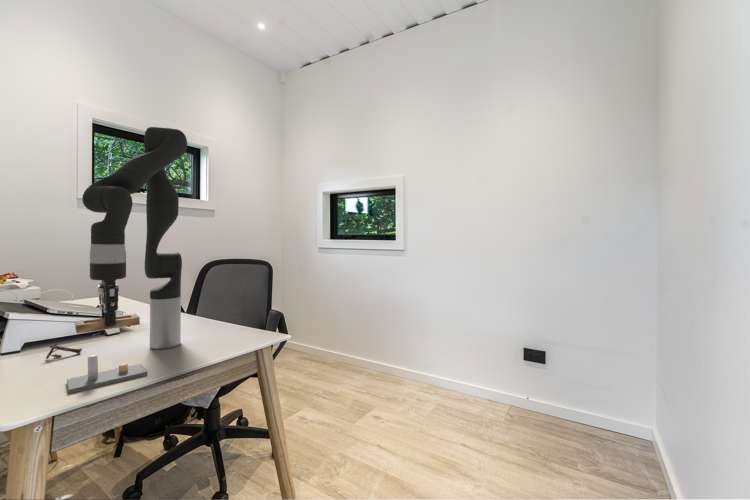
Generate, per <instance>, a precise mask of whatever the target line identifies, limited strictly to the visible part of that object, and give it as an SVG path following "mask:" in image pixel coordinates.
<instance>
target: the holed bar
mask: <svg viewBox="0 0 750 500" xmlns="http://www.w3.org/2000/svg"><path fill="white" fill-rule="evenodd" d="M140 321H141V319H140V316H139V315H138V314H136V313H132V314H123V315H122V314H121V315H116V325H115V326H109V327H106V326H105V318H102V317H98V318H89V319H83V320H76V321H75V323H74V325H75V326H74V327H75V328H74V329H75V332H76V334H81V333H89V332H96V331H103V330H105V331H106V330H110V329H117V328H124V327H130V326H132V327H133V326H139V325H140V324H141V323H140Z"/></svg>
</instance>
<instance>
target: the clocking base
mask: <svg viewBox="0 0 750 500" xmlns="http://www.w3.org/2000/svg"><path fill="white" fill-rule="evenodd" d="M98 359H99V355H98V354H91V355H89V356H87V374H85V375H80V376H77V377H76V376H75V377H71V378H66V384H67V392H68V394H74V393H77V392H82V391H85V390H90V389H93V388H98V387H102V386H107V385H111V384H115V383H116V384H117V383H119V382H124V381H128V380H132V379H136V378H142V377H145V376H148V370H147V369H146V368H145V367H144V365H143V364H142V363H137V364H131V365H129V363H126V362H125V363H122V364H119V365H118V368H117V367H116V368H114V369H108V370H104V371H99V360H98Z"/></svg>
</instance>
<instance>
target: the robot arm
mask: <svg viewBox="0 0 750 500" xmlns="http://www.w3.org/2000/svg"><path fill="white" fill-rule="evenodd" d="M144 132H145V133H144V137H143V143H144V144H143V145H144V153H143V154H140V155H138V156H135V157H133V158H131V159H128V160H127V161H125V162H124V163H123V164H122V165H121V166H120V167H118V168H117V169H116V170H115V171H114V172H113V173H112V174H110V175H107V176H105V177H104V178H102V179H99V180H98V181H95V182H94V183H92V184H91V185H88V187H86V189H85V190H84V191H83V194H82V203H83V205H84V207H85V208H86V209H87V210H89V211H91V212H93V213H101V214H104V213H105V215H104V219H102V220H101V221H96V222H93V223H92V224H91V227H90V249H89V278H90V280H92V281H101V282H100V283H99V284H98V286H97V290H98V300H99V305H100V306H99V307H100V308H101V318H105V326H106V327H109V326H115V325H116V316H117V311H118V310H119V292H120V288H119V287H120V286H119V285H117V284H116V283H117V282H116V281H117V280H122V279H126V278H127V251H126V231H125V230H126V228H127V226H128V222H129V218H130V215H131V212H132V208H133V198H132V195H133V194H136V193H137V192H139V191H140V190H141V189H142V188H143V186H145V184H146V199H145V201H146V204H145V205H146V208H145V211H146V241H145V242H146V243H145V252H144V253H145V254H144V273H145V276H146V278H148V279H152V280H153V279H169V280H168V281H167V282H166V283H164V284H163V285H160V286H158V287H155V288H152V289H150V292H149V348H150V349H152V350H153V349H154V350H163V349H169V348H174V347H178V346H179V345H180V344H181V338H182V337H181V332H182V331H181V330H182V326H181V324H182V322H181V321H182V319H181V318H182V315H181V314H182V313H181V312H182V311H181V310H182V309H181V307H182V304H181V300H182V298H181V297H182V293H181V292H182V269H183V258H182V256H181V254H180V252H179V251H158V247H159V244H160V242H161V240H162V238H163V237H164V235H165V234H166V233H167V232H168V230H169V229H170V228H171V226H173V225H174V223H175V222H176V220H177V219H178V217H179V203H180V199H179V194H178V192H177V190H176V188H175V187H174V184H173V183H172V182H171V180H170V178H169V176H168V175H167V172H166V170H165V169H166V167H167V166H169V165H170V164H171V163H173V162H175V161H177V160H178V159H180V158H181V157H182V156H184V154H185V153H186V152H187V149H188V139H187V136H186V134H185V132H183V131H182V130H180V129H179V128H177V129H176V128H172V127H164V126H156V125H152V126H148V127H147V128H146V130H145V131H144Z"/></svg>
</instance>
